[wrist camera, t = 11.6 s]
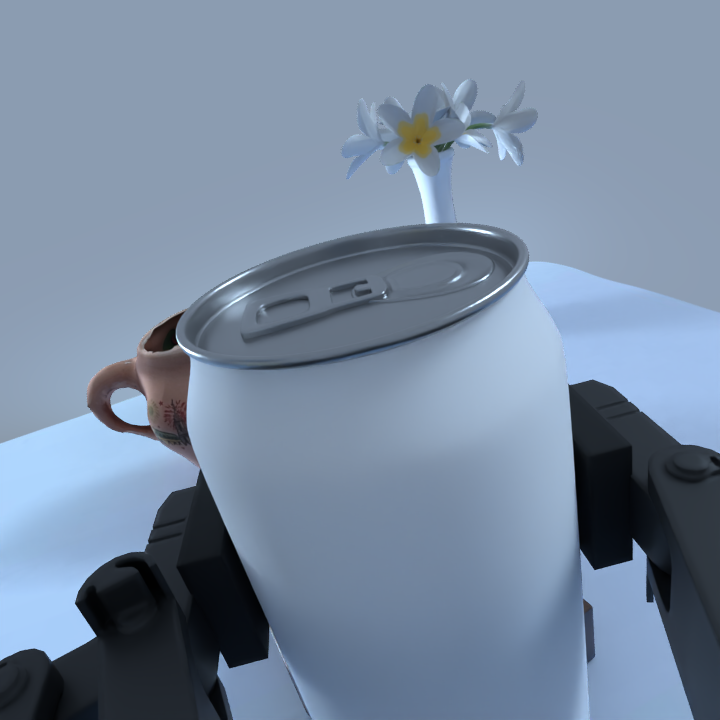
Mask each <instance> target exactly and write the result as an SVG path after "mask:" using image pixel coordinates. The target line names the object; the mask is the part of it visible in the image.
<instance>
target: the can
mask: <svg viewBox="0 0 720 720" xmlns="http://www.w3.org/2000/svg"><path fill="white" fill-rule="evenodd" d="M528 262H529V252H528V249H527V246H526V245H525V243H524V242H523V241H522V240H521V239H520V238H519V237H518V236H516V235H515V234H513V233H511V232H509V231H506V230H503V229H500V228H497V227H492V226H487V225H480V224H470V223H431V224H419V225H408V226H400V227H393V228H387V229H381V230H376V231H369V232H364V233H360V234H355V235H351V236H346V237H342V238H338V239H334V240H330V241H327V242H323V243H319V244H316V245H313V246H309V247H306V248H303V249H300V250H297V251H293V252H291V253H288V254H285V255H282V256H279V257H277V258H274V259H271V260H269V261H267V262H264V263H262V264H259V265H257V266H255V267H252V268H250V269H248V270H246V271H244V272H242V273H240V274H238V275H236V276H234V277H232V278H230V279H228V280H226V281H225V282H223V283H221V284H219V285H218V286H216V287H214V288H213V289H211V290H210V291H208V292H207V293H205V294H204V295H203V296H201V297H200V298H199V299H198V300H196V301H195V302H194V303H193V304H192V305H191V306H190V307H189V308H188V309H187V310H186V311H185V312H184V314H183V315H182V317H181V318H180V320H179V322H178V324H177V327H176V339H177V342H178V344H179V346H180V347H181V349H182V350H183V351H184V352H185V353H186V354H187V355H189V356H190V361H191V367H190V379H189V388H188V397H187V429H188V433H189V437H190V440H191V443H192V447H193V450H194V453H195V455H196V458H197V460H198V462H199V465H200V467H201V470H202V472H203V475H204V477H205V480H206V482H207V484H208V487H209V489H210V491H211V494H212V496H213V498H214V501H215V503H216V505H217V507H218V510H219V512H220V514H221V517H222V519H223V521H224V524H225V526H226V528H227V530H228V533H229V535H230V537H231V539H232V542H233V544H234V546H235V548H236V551H237V553H238V555H239V558H240V560H241V562H242V564H243V567H244V569H245V571H246V573H247V576H248V578H249V580H250V582H251V585H252V587H253V589H254V591H255V594H256V596H257V598H258V600H259V603H260V605H261V607H262V609H263V612H264V614H265V616H266V618H267V620H268V623H269V625H270V627H271V629H272V632H273V634H274V636H275V638H276V641H277V643H278V645H279V647H280V650H281V652H282V654H283V656H284V658H285V661H286V663H287V665H288V667H289V670H290V672H291V674H292V676H293V678H294V681H295V683H296V685H297V687H298V690H299V692H300V694H301V696H302V698H303V701H304V703H305V705H306V707H307V710H308V712H309V714H310V716H311V718H312V720H590V717H589V693H588V674H587V657H586V640H585V623H584V607H583V591H582V575H581V560H580V544H579V529H578V514H577V499H576V484H575V469H574V454H573V440H572V427H571V413H570V400H569V387H568V377H567V368H566V358H565V353H564V348H563V343H562V338H561V335H560V333H559V331H558V328H557V326H556V324H555V322H554V321H553V319H552V317H551V316H550V314H549V312H548V311H547V309H546V308H545V306H544V305H543V303H542V302H541V300H540V299H539V297H538V296H537V294H536V293H535V291H534V290H533V289H532V287H531V285H530V284H529V282H528V280H527V278H526V276H525V271H526V269H527V266H528Z"/></svg>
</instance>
